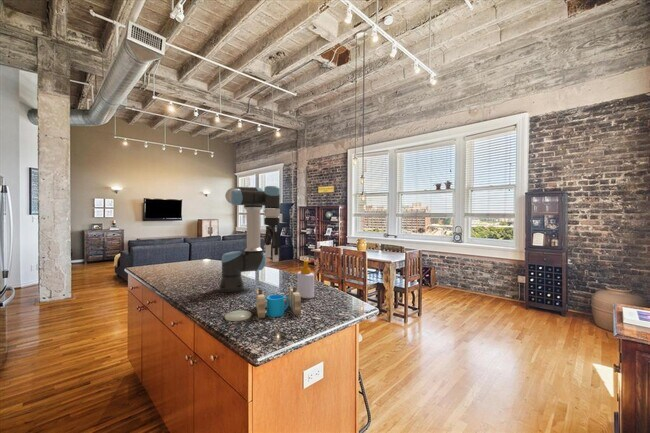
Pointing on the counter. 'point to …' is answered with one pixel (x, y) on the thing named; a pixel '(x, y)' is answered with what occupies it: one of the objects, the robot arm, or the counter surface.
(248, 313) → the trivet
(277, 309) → the mug
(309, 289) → the soap bottle
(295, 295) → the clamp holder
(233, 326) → the counter surface
